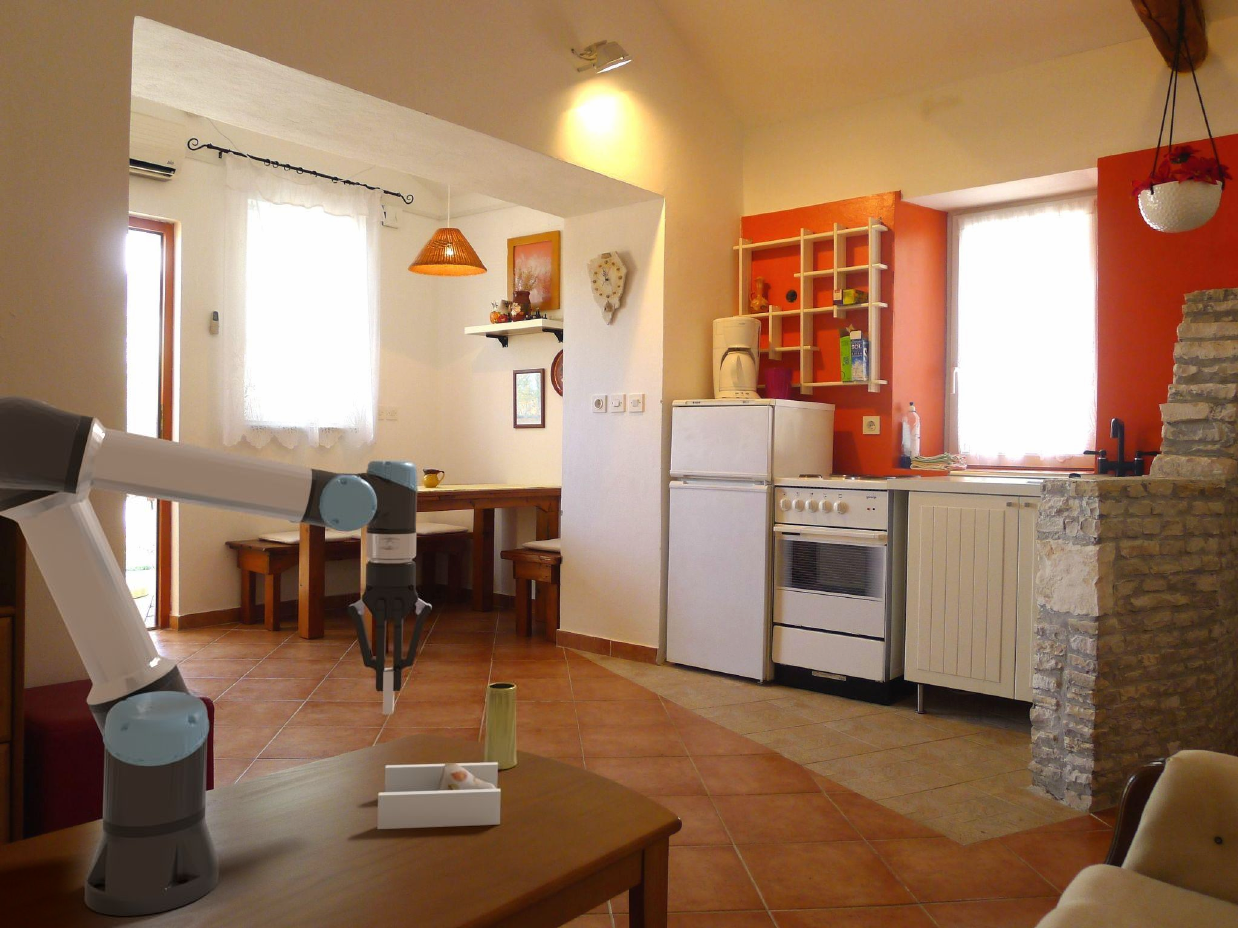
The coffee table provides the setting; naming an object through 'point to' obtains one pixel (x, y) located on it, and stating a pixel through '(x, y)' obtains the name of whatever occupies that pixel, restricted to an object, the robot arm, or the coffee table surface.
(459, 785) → the mug
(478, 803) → the channel
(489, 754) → the vase
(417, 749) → the coffee table surface
